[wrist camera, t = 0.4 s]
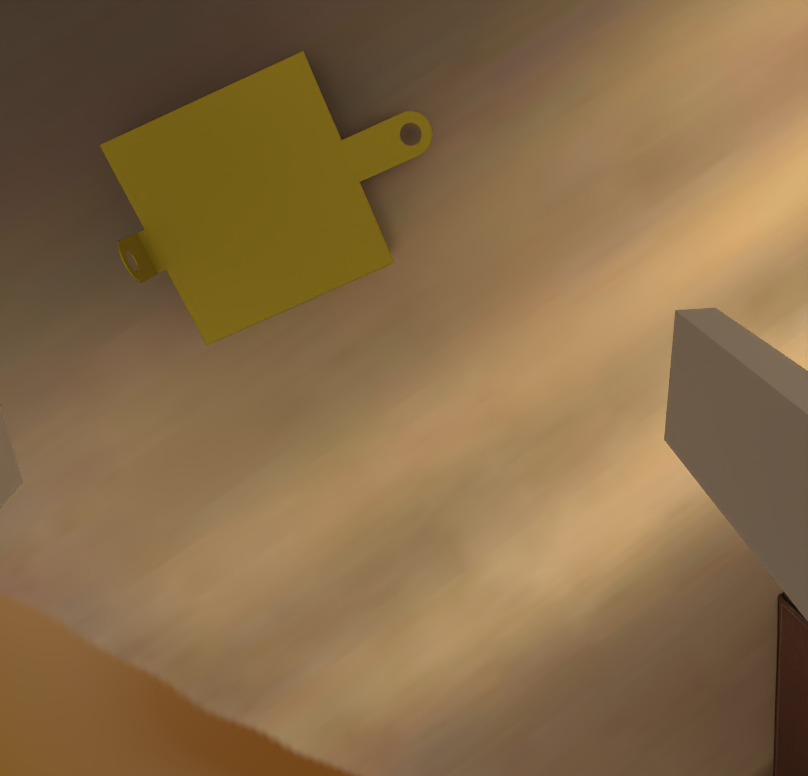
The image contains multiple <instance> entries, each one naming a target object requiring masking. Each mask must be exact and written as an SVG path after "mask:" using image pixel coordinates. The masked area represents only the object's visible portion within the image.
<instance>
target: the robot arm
mask: <svg viewBox="0 0 808 776" xmlns="http://www.w3.org/2000/svg"><path fill="white" fill-rule="evenodd" d="M664 440H665V441H666V442H667V444H668V445H669V446H670V448H671V449H672V450H673V451H674V453H675V454H676V455H677V456H678V458H679V459H680V460H681V462H682V463H683V464H684V465H685V467H686V468H687V469H688V470H689V472H690V473H691V474H692V475H693V477H694V478H695V479H696V481H697V482H698V483H699V484H700V486H701V487H702V488H703V489H704V491H705V492H706V493H707V495H708V496H709V497H710V498H711V500H712V501H713V502H714V503H715V505H716V506H717V507H718V508H719V510H720V511H721V512H722V514H723V515H724V516H725V517H726V519H727V520H728V521H729V522H730V524H731V525H732V526H733V528H734V529H735V530H736V531H737V533H738V534H739V535H740V536H741V538H742V539H743V540H744V541H745V543H746V544H747V545H748V547H749V548H750V549H751V550H752V552H753V553H754V554H755V555H756V557H757V558H758V559H759V560H760V562H761V563H762V564H763V566H764V567H765V568H766V569H767V571H768V572H769V573H770V574H771V576H772V577H773V578H774V580H775V581H776V582H777V583H778V585H779V586H780V587H781V588H782V590H783V591H784V592H785V593H786V595H787V596H788V597H789V599H790V600H791V601H792V602H793V604H794V605H795V606H796V607H797V609H798V610H799V611H800V613H801V614H802V615H803V616H804V618H805V619H806V620H807V621H808V371H807V370H805V369H804V368H802V367H801V366H800V365H798V364H797V363H795V362H794V361H792V360H791V359H789V358H788V357H786V356H785V355H784V354H782V353H781V352H779V351H778V350H776V349H775V348H773V347H772V346H770V345H769V344H767V343H766V342H765V341H763V340H762V339H760V338H759V337H757V336H756V335H754V334H753V333H751V332H750V331H749V330H747V329H746V328H744V327H743V326H741V325H740V324H738V323H737V322H735V321H734V320H732V319H731V318H730V317H728V316H727V315H725V314H724V313H722V312H721V311H719V310H718V309H716V308H704V309H689V310H675V321H674V333H673V344H672V356H671V367H670V379H669V390H668V402H667V413H666V425H665V436H664ZM22 482H23V481H22V477H21V474H20V471H19V467H18V464H17V460H16V457H15V453H14V450H13V447H12V443H11V440H10V436H9V433H8V429H7V426H6V423H5V419H4V416H3V412H2V409H1V405H0V507H1V506H2V505H3V504H4V503H5V502H6V501H7V499H8V498H9V497H10V496H11V495H12V494H13V493H14V491H15V490H16V489H17V488H18V487H19V486H20V485H21V483H22Z"/></svg>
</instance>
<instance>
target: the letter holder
mask: <svg viewBox="0 0 808 776" xmlns="http://www.w3.org/2000/svg"><path fill="white" fill-rule="evenodd" d="M777 668H778V671H777V693H776V696H777V697H776V724H775V756H774V776H808V621H807V620H806V619H805V618H804V616H803V615H802V614H801V613H800V611H799V610H798V609H797V607H796V606H795V605H794V604H793V602H792V601H791V600H790V599H789V597H788V596H787V595H786V593H784V594H781V595H780V596H779V644H778V667H777Z"/></svg>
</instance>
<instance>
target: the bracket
mask: <svg viewBox="0 0 808 776" xmlns="http://www.w3.org/2000/svg"><path fill="white" fill-rule="evenodd" d="M407 123H414V124H416V125H417V126H418V127H419V128H420V130H421V139H420V141H419V142H418V143H417V144H416V145H413V146H408V145H406V144H404V143H403V142H402V141H401V139H400V130H401V128H402V127H403V126H404V125H405V124H407ZM431 140H432V128H431V125H430V123H429V121H428V120H427V118H426V117H425V116H423V115H422V114H420V113H418V112H414V111H407V112H403V113H401V114H399V115H396V116H394V117H392V118H390V119H388V120H385V121H383V122H381V123H379V124H376V125H374V126H372V127H370V128H368V129H365V130H363V131H361V132H359V133H357V134H354V135H352V136H350V137H348V138H346V139H343V140H341V138H340V135H339V133H338V131H337V128H336V126H335V124H334V121H333V119H332V117H331V114H330V112H329V110H328V107H327V105H326V103H325V100H324V98H323V96H322V94H321V91H320V89H319V87H318V84H317V82H316V80H315V77H314V75H313V73H312V70H311V68H310V66H309V63H308V61H307V59H306V56H305V54H304V52H303V51H302V52H300V53H297V54H295V55H293V56H291V57H289V58H287V59H284V60H282V61H280V62H278V63H276V64H274V65H271V66H269V67H267V68H265V69H263V70H261V71H258V72H256V73H254V74H252V75H250V76H248V77H245V78H243V79H241V80H239V81H237V82H235V83H233V84H230V85H228V86H226V87H224V88H222V89H220V90H217V91H215V92H213V93H211V94H209V95H207V96H204V97H202V98H200V99H198V100H196V101H194V102H191V103H189V104H187V105H185V106H183V107H181V108H178V109H176V110H174V111H172V112H170V113H168V114H165V115H163V116H161V117H159V118H157V119H155V120H152V121H150V122H148V123H146V124H144V125H142V126H140V127H137V128H135V129H133V130H131V131H129V132H127V133H124V134H122V135H120V136H118V137H116V138H114V139H111V140H109V141H107V142H105V143H103V144H101V145H100V147H101V149H102V151H103V153H104V155H105V156H106V158H107V160H108V162H109V164H110V166H111V168H112V170H113V171H114V173H115V175H116V177H117V179H118V181H119V183H120V184H121V186H122V188H123V190H124V192H125V194H126V196H127V198H128V199H129V201H130V203H131V205H132V207H133V209H134V211H135V212H136V214H137V216H138V218H139V220H140V222H141V224H142V226H143V227H144V229H145V230H143V231H141V232H138V233H136V234H134V235H131V236H129V237H126V238H124V239H121V240H119V241H118V244H117V245H118V251H119V254H120V257H121V259H122V261H123V263H124V265H125V267H126V268H127V270H128V271H129V273H130V274H131V275H132V277H133V278H134V279H135V280H136V281H138V282H140V283H142V282H144V281H146V280H147V279H149V278H150V277H152V276H154V275H155V274H157V273H159V272H161V271H163V270H165V269H166V270H167V272H168V274H169V276H170V278H171V280H172V282H173V283H174V285H175V287H176V289H177V291H178V293H179V295H180V297H181V298H182V300H183V302H184V304H185V306H186V308H187V310H188V312H189V313H190V315H191V317H192V319H193V321H194V323H195V325H196V326H197V328H198V330H199V332H200V334H201V336H202V338H203V340H204V341H205V343H206V345H208V344H211V343H213V342H215V341H217V340H220V339H222V338H224V337H226V336H229V335H231V334H233V333H235V332H238V331H240V330H242V329H245V328H247V327H249V326H251V325H254V324H256V323H258V322H260V321H263V320H265V319H267V318H269V317H272V316H274V315H276V314H278V313H281V312H283V311H285V310H288V309H290V308H292V307H294V306H297V305H299V304H301V303H303V302H306V301H308V300H310V299H312V298H315V297H317V296H319V295H321V294H324V293H326V292H328V291H331V290H333V289H335V288H337V287H340V286H342V285H344V284H346V283H349V282H351V281H353V280H355V279H358V278H360V277H362V276H364V275H367V274H369V273H371V272H374V271H376V270H378V269H380V268H383V267H385V266H387V265H389V264H392V263H394V260H393V258H392V256H391V253H390V251H389V249H388V246H387V244H386V242H385V240H384V237H383V235H382V233H381V230H380V228H379V226H378V223H377V221H376V219H375V216H374V214H373V212H372V209H371V207H370V205H369V202H368V200H367V198H366V196H365V193H364V191H363V189H362V186H361V184H360V182H361V181H363V180H365V179H368V178H370V177H372V176H374V175H377V174H379V173H381V172H383V171H385V170H388V169H390V168H392V167H394V166H397V165H399V164H401V163H403V162H405V161H408V160H410V159H412V158H414V157H417V156H419V155H421V154H422V153H424V152H425V151H426V150H427V149H428V147H429V146H430V143H431ZM126 251H127V252H129V253H130V255H131V256H132V257H133V259H134V261H135V263H136V265H137V271H135V270H134V269H133V268H132V267H131V265H130V263H129V262H128V260H127V257H126Z"/></svg>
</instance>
